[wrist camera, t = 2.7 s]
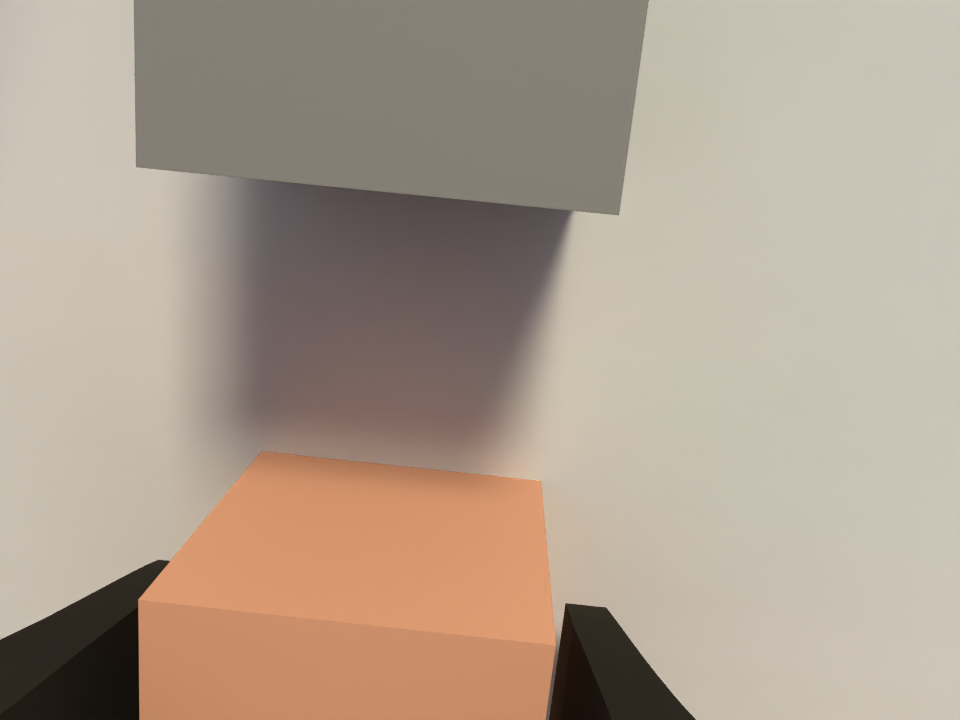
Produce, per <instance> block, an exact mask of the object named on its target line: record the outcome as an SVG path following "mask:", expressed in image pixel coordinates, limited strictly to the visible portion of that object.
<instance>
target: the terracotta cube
mask: <svg viewBox="0 0 960 720" xmlns="http://www.w3.org/2000/svg"><path fill="white" fill-rule="evenodd" d="M138 623H139V720H546V713H547V706H548V699H549V692H550V684H551V677H552V670H553V663H554V656H555V649H556V640H555V629H554V618H553V608H552V597H551V586H550V575H549V564H548V553H547V542H546V531H545V521H544V510H543V499H542V488H541V481H536V480H526V479H517V478H507V477H498V476H489V475H479V474H470V473H460V472H451V471H441V470H432V469H422V468H413V467H403V466H394V465H385V464H375V463H366V462H356V461H347V460H337V459H328V458H318V457H309V456H299V455H290V454H281V453H271V452H262V451H261V453H260V454H259V455H258V456H257V458H256V459H255V460H254V461H253V462H252V464H251V465H250V466H249V467H248V468H247V470H246V471H245V472H244V473H243V474H242V476H241V477H240V478H239V479H238V480H237V482H236V483H235V484H234V485H233V486H232V488H231V489H230V490H229V491H228V492H227V494H226V495H225V496H224V497H223V498H222V500H221V501H220V502H219V503H218V504H217V506H216V507H215V508H214V509H213V510H212V512H211V513H210V514H209V515H208V517H207V518H206V519H205V520H204V521H203V523H202V524H201V525H200V526H199V527H198V529H197V530H196V531H195V532H194V533H193V535H192V536H191V537H190V538H189V539H188V541H187V542H186V543H185V544H184V545H183V547H182V548H181V549H180V550H179V551H178V553H177V554H176V555H175V556H174V557H173V559H172V560H171V561H170V562H169V563H168V565H167V566H166V567H165V568H164V569H163V571H162V572H161V573H160V574H159V576H158V577H157V578H156V579H155V580H154V582H153V583H152V584H151V585H150V586H149V588H148V589H147V590H146V591H145V592H144V594H143V595H142V596H141V597H140V598H139V600H138Z"/></svg>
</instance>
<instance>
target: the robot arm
mask: <svg viewBox="0 0 960 720" xmlns="http://www.w3.org/2000/svg"><path fill="white" fill-rule="evenodd" d="M169 562H170V561H164V560H157V561H155V562H152V563H150V564H148V565H146V566H144V567H142V568H139V569H138V570H136V571H134V572H132V573H130V574H128V575H126V576H124V577H122V578H120V579H118V580H116V581H115V582H113V583H111V584H109V585H107V586H105V587H103V588H101V589H100V590H98V591H96V592H94V593H92V594H90V595H88V596H86V597H85V598H83V599H81V600H79V601H77V602H75V603H73V604H71V605H69V606H67V607H66V608H64V609H62V610H60V611H58V612H56V613H54V614H52V615H50V616H48V617H47V618H45V619H43V620H41V621H38V622H36V623H34V624H32V625H30V626H28V627H26V628H24V629H22V630H20V631H18V632H16V633H13V634H11V635H9V636H7V637H5V638H3V639H1V640H0V720H139V623H138V600H139V598H140V597H141V596H142V595H143V594H144V592H145V591H146V590H147V589H148V588H149V586H150V585H151V584H152V583H153V582H154V580H155V579H156V578H157V577H158V576H159V574H160V573H161V572H162V571H163V569H164V568H165V567H166V566H167V565H168V563H169ZM549 720H696V719H695V718H694V717H693V716H692V715H691V714H690V713H689V712H688V711H687V710H686V709H685V708H684V706H683V705H682V704H681V703H680V702H679V701H678V700H677V698H676V697H675V696H674V695H673V694H672V693H671V691H670V690H669V689H668V688H667V686H666V685H665V684H664V683H663V682H662V680H661V679H660V678H659V677H658V676H657V674H656V673H655V672H654V670H653V669H652V668H651V667H650V665H649V664H648V663H647V662H646V660H645V659H644V658H643V656H642V655H641V654H640V652H639V651H638V650H637V648H636V647H635V646H634V644H633V643H632V642H631V640H630V639H629V637H628V636H627V635H626V633H625V632H624V631H623V629H622V628H621V627H620V625H619V624H618V622H617V621H616V620H615V618H614V617H613V616H612V615H611V613H610V612H609V611H608V609H607V608H605V607H595V606H586V605H577V604H567V603H566V605H565V612H564V619H563V626H562V633H561V640H560V647H559V654H558V661H557V668H556V675H555V683H554V690H553V697H552V704H551V711H550V718H549Z"/></svg>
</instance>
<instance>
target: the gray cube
mask: <svg viewBox="0 0 960 720" xmlns="http://www.w3.org/2000/svg"><path fill="white" fill-rule="evenodd" d="M648 1H649V0H134V43H135V122H136V167H140V168H150V169H160V170H170V171H180V172H190V173H200V174H210V175H220V176H230V177H240V178H250V179H260V180H270V181H280V182H290V183H300V184H310V185H320V186H330V187H340V188H350V189H360V190H370V191H380V192H391V193H401V194H411V195H421V196H431V197H441V198H451V199H461V200H471V201H481V202H491V203H501V204H511V205H521V206H531V207H541V208H551V209H561V210H571V211H581V212H591V213H601V214H611V215H619V211H620V203H621V196H622V189H623V182H624V174H625V167H626V160H627V153H628V146H629V138H630V131H631V124H632V117H633V109H634V102H635V95H636V88H637V80H638V73H639V66H640V59H641V52H642V44H643V37H644V30H645V23H646V15H647V8H648Z"/></svg>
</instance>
